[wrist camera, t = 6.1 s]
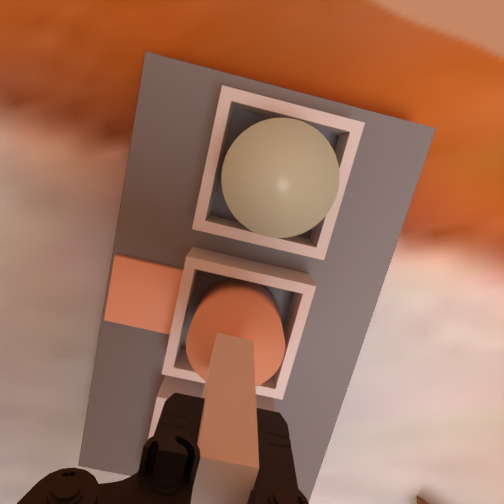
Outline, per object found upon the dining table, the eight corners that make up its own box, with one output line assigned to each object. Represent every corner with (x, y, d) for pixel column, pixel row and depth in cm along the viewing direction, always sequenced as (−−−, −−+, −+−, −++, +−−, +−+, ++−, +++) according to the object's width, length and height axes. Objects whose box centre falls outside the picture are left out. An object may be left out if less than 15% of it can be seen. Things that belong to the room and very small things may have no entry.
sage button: (216, 213, 17) (210, 223, 14) (238, 114, 16) (236, 103, 13) (308, 235, 17) (320, 249, 14) (336, 139, 16) (354, 134, 14)
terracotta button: (187, 347, 20) (177, 379, 17) (204, 269, 19) (197, 289, 16) (268, 364, 20) (271, 399, 17) (289, 289, 19) (296, 312, 16)
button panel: (98, 430, 25) (61, 495, 20) (160, 67, 20) (132, 36, 15) (299, 470, 26) (311, 541, 21) (409, 133, 21) (458, 123, 16)
